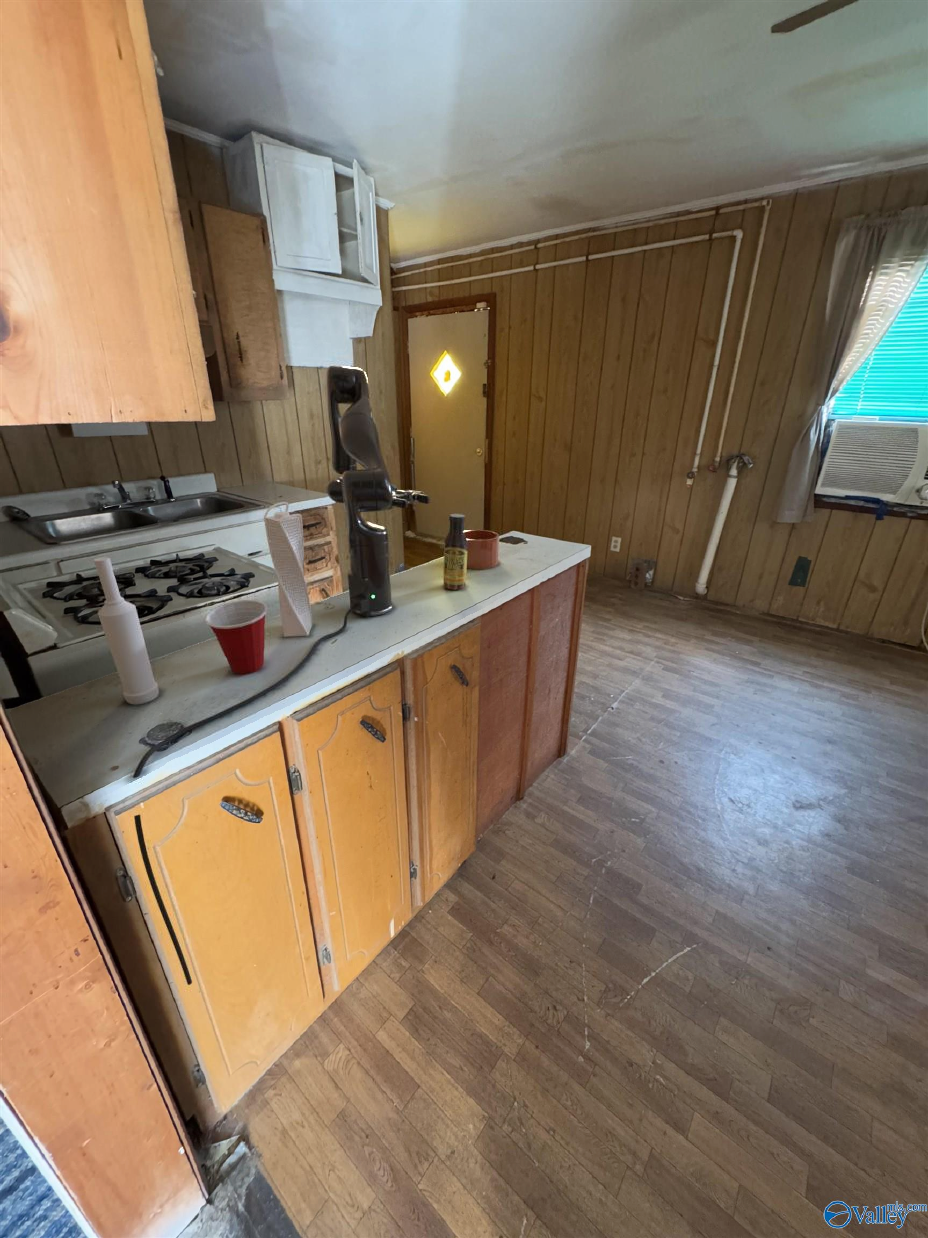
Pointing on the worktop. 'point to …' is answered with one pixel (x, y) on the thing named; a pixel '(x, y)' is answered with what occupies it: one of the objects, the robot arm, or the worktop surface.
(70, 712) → the worktop surface
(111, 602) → the bottle
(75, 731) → the worktop surface
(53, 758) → the worktop surface
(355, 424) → the robot arm
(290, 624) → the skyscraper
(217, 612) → the plastic cup
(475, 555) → the crock
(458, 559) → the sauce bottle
